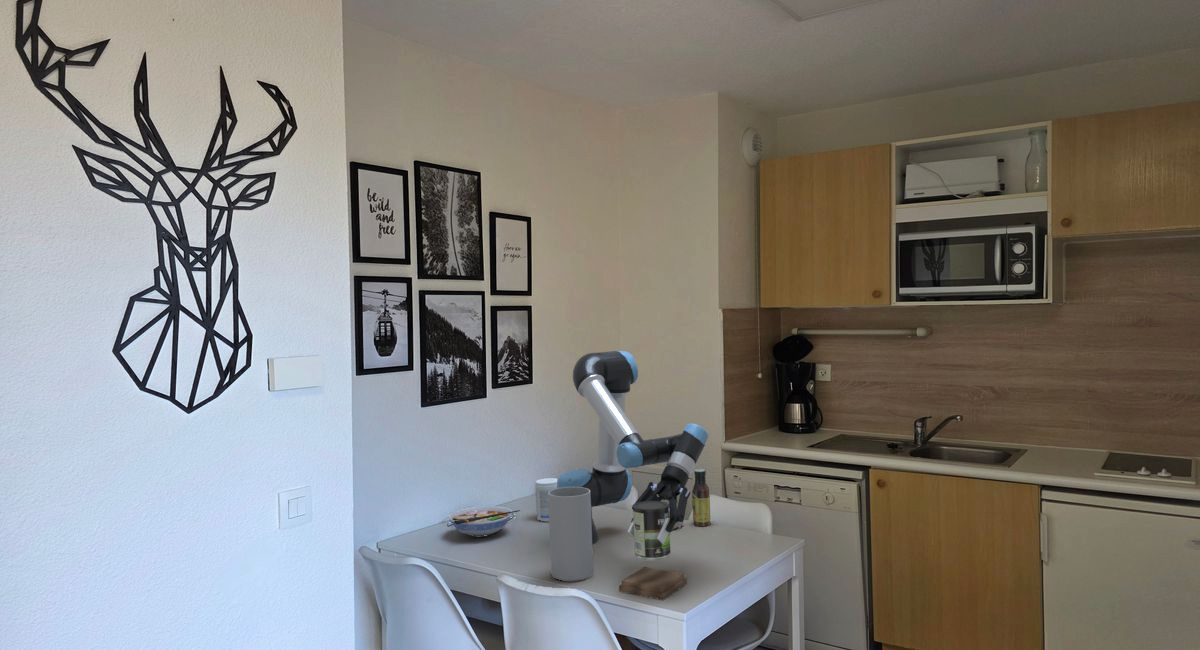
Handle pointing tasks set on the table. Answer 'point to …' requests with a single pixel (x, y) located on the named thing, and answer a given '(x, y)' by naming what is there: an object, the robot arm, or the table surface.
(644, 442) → the robot arm
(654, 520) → the coffee can
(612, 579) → the table surface
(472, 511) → the ramen bowl
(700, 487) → the sauce bottle
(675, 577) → the walnut plinth
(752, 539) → the table surface
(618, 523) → the table surface
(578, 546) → the cylinder vase
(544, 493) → the supplement tub
